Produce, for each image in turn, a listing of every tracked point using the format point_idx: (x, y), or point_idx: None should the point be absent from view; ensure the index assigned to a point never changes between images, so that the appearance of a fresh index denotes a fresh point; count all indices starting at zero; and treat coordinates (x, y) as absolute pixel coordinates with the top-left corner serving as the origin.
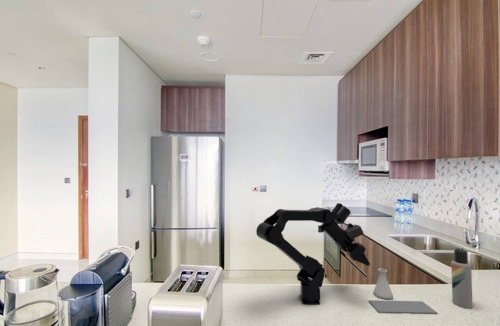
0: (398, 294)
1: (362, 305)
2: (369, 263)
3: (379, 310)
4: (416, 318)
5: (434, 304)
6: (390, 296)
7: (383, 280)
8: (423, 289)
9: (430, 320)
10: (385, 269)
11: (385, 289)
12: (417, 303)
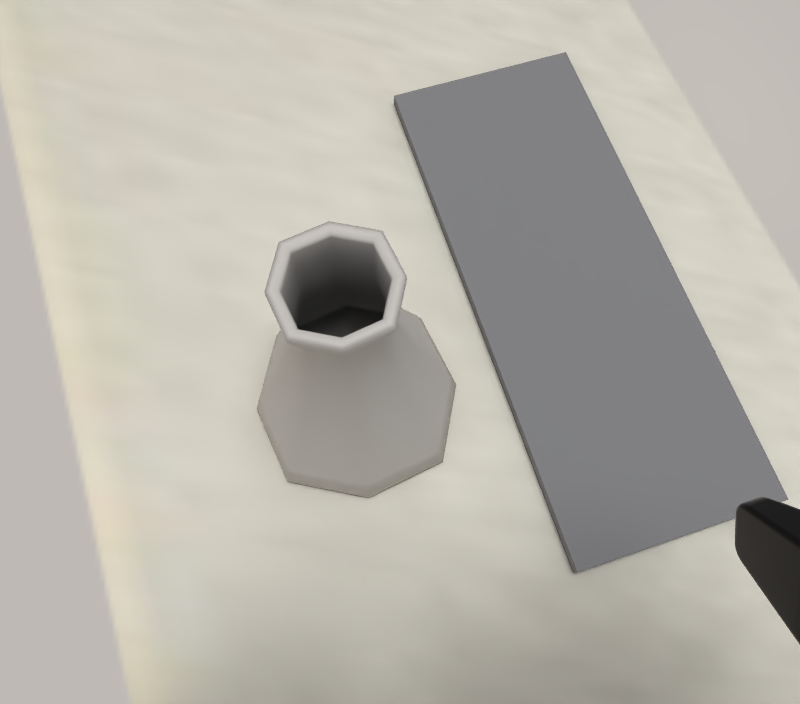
0: None
1: (693, 649)
2: (794, 515)
3: (762, 487)
4: (710, 213)
5: (392, 34)
6: (426, 331)
7: (400, 336)
8: (100, 29)
9: (691, 130)
10: (296, 235)
11: (425, 354)
12: (456, 141)
